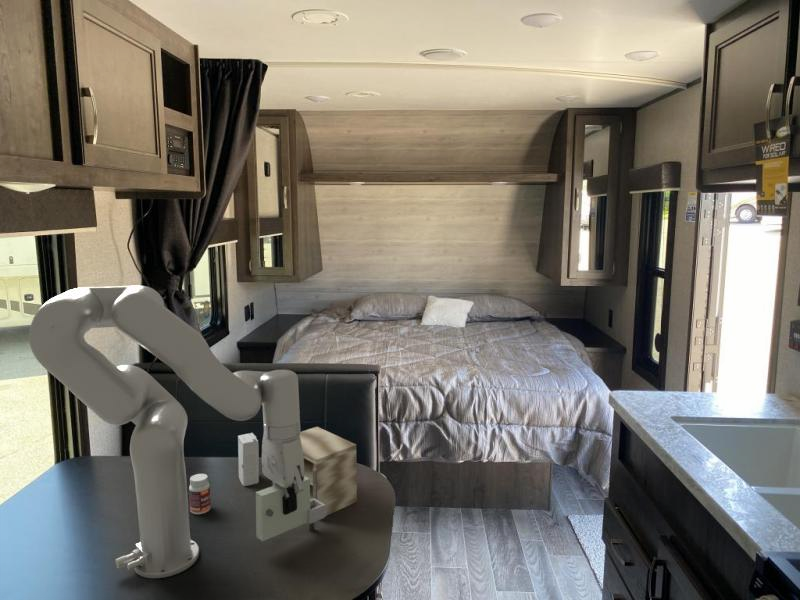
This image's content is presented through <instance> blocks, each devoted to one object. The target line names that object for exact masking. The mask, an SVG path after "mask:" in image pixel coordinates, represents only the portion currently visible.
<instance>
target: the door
mask: <svg viewBox="0 0 800 600" xmlns="http://www.w3.org/2000/svg"><path fill="white" fill-rule="evenodd" d="M302 483H303V487H304V490H303V491H300V492H298V494H297V510H296V511H293V512H291V513H289V514H287V515H285V514H283V499H282V497H284V488H283V487H281V486H280V485H278V484H277V485H274V486H273V485H272V486H268V487H266V488H263V489H261V490H258V491H255V537H256V538H257V539H259V540H260V541H261V542H265V541H267V540H269V539H271V538H274V537H277V536H278V535H281V534H283V533H286V532H288V531H290V530H293V529H296V528H297V527H300V526H302V525H304V524H307V523H308V524H309V523H310V524H311V523H313V522H314V523H316V522H319V521H320V520H323V519H325V518H326V516H325V504H323V503H322V502H320V501H318V500H317V499H315V498H313V499H311V500H310V479H309V478H308V477H306V476H304V480H303V481H302ZM291 487H293V486H292V485H291V486H289V489H290V488H291ZM310 504H313V505H314V508H312V509H310Z"/></svg>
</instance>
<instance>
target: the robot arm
mask: <svg viewBox="0 0 800 600" xmlns="http://www.w3.org/2000/svg"><path fill="white" fill-rule="evenodd" d="M100 328H101V329H103V328H117V329H118V330H119V331H120V332H121V333H122V334H124V335H125V336H126V337H128V338H129V339H130V340H132V341H134V342H135V343H136V344H137V345H139V346H140V347H142V348H143V349H145V350H147V352H149V353H151V354H152V355H153V356H155V357H156V358H157V359H158V360H160V361H161V362H162V363H164V364H165V365H167V366H168V367H169V368H171V369H172V371H174V373H175V374H176V375H177V377H179V379H181V380H182V382H184V383H185V385H186V386H188V388H189V389H190V390H191V391H192V392H193V393H194V394H196V396H198V397H199V398H200V399H201V400H202V401H203V402H205V403H206V404H208V405H209V406H211V407H212V408H213V409H215V410H216V411H217V412H219V413H221V414H222V415H224V416H225V417H226V418H229V419H230V420H231V419H232V420H234V421H239V422H241V421H242V422H244V421H249V420H250V419H252V418H254V417H255V416H256V415H257V414H258V413H259V411H260V409H261V407H262V421H263V435H262V441H261V443H262V444H261V472H262V475H263V476H264V477H265V478H267V479H268V480H270V481H271V483H272V486H274V485H277V484H278V485H280V486H281V487H283V488H284V497H282V499H283V514H285V515H287V514H289V513H291V512H293V511H296V510H297V494H298V492H300V491H303V490H304V487H303V483H302V481H303V480H304V473H305V471H304V458H303V450H302V444H301V439H300V437H299V436H300V432H301V419H300V417H301V416H300V415H301V413H300V395H299V394H300V392H299V378H298V375H297V373H296V372H294V371H292V370H289V369H274V370H270V371H255V370H237V371H234V372H233V371H231V370H230V369H229V368H227V367H226V366H225V365H224V364H223V363H222V362H221V361H220V360H219V359H218V358H217V357H216V356H215V354H214V353H213V352H212V350H211V348H210V346H209V344H208V342H207V341H206V339H205V337H203V335H202V334H201V333H200V332H199V331H198V330H196V329H195V328H193V327H192V326H190V324H188V323H187V322H186V321H184V320H183V319H182V318H180V317H179V316H178V315H176V314H175V313H174V312H172V311H171V310H170V309H168V308H167V307H166V306H165V303H164V299H163V297H162V295H160V293H159V292H158V291H156V290H155V289H154V288H152V287H150V286H145V285H122V286H120V285H119V286H117V285H116V286H87V287H77V288H76V287H75V288H73V289H69V290H66V291H65V292H62V293H60V294H58V295H55V296H54V297H51V298H50V299H49V300H47V301H45V302H44V304H42V305H41V306H40V307H39V309H38V310H37V311H36V313H35V314H34V316H33V317H32V321H31V324H30V328H29V332H28V339H29V341H28V342H29V346H30V349H31V352H32V354H33V356H34V357H35V359H36V361H37V362H38V363H39V364H40V365H41V366H42V368H44V369H45V370H46V371H48V373H49V374H51V376H53V377H54V378H56V379H57V380H58V381H59V382H60V383H61V384H62V385H63V386H65V387H66V388H67V389H68V391H69V392H71V393H72V394H73V395H74V397H76V398H77V399H78V400H80V401H81V402H82V403H83V404H84V405H85V406H86V407H87V408H88V409H89V410H91V411H92V412H93V413H94V414H95V415H96V416H97V417H98V418H99V419H100V420H102V421H103V422H105V423H107V424H109V425H113V426H121V425H126V424H128V423H129V422H132V423H133V424H134V425H135V427H134V429H133V431H132V435H131V436H130V442H129V443H130V444H129V455H130V459H131V464H132V469H133V477H134V483H135V487H134V488H135V496H136V504H137V506H136V507H137V517H138V529H139V531H138V532H139V540H140V541H139V542H138V543H135V549H133V550H131V552H130V553H128V554H125V555H122V556H120V557H118V558H115V560H114V561H115V567H116V568H117V569H119V570H120V568H123V567H126V569H127V570H128V571H131V570H133V569H134V572H135V573H136V574H137V575H139V576H140V577H143V578H147V579H161V578H163V579H164V578H167V577H171V576H175V575H178V574H180V573H182V572H184V571H186V570H187V569H189V568H190V567H192V565H194V564H195V563H196V561H197V560H198V558H199V555H200V547H199V544H198V543H197V542H195V540H192V539H191V532H190V531H191V530H190V514H189V513H190V512H189V511H190V510H189V497H188V485H187V483H188V482H187V473H186V463H185V455H184V454H185V452H184V441H185V440H184V439H185V436H186V430H187V427H188V415H187V412H186V409H185V408H184V406H183V405H182V404H181V403H180V402H179V400H177V399H176V398H175V397H174V396H173V395H172V394H171V393H170V392H169V391H168V390H167V389H166V388H165V387H163V386H162V385H161V384H160V383H159V382H158V381H157V380H156V379H155V378H154V377H153V376H152V375H151V374H150V373H148V372H147V371H146V370H144V369H143V368H141V367H139V366H136V365H131V364H120V365H117V366H116V365H115V364H114V363H112V361H110V359H108V357H106V356H105V354H103V353H102V352H101V350H100V351H99V350H98V349H96V348H95V347H93V346H92V345H90V344H89V343H88V342H87V341H86V340H85V335H86V333H88V332H89V331H90V330H91V329H100ZM291 485H292V486H293V487H291V488H290V489H289V486H291Z"/></svg>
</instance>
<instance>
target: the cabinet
mask: <svg viewBox="0 0 800 600" xmlns="http://www.w3.org/2000/svg"><path fill="white" fill-rule="evenodd" d="M299 437H300V439H301V444H302V450H303V458H304V471H305V473H304V476H306V477H308V478H309V479H310V500H311V499H313V498H315V499H317V500H318V501H320V502H322V503H323V504H325V517H327V516H328V515H331V514H333V513H335V512H338V511H340V510H341V509H344V508H346V507H348V506H350V505H352V504H355V503H357V502H358V494H357V493H358V482H357V481H358V479H357V476H358V475H357V465H358V464H357V443H353V442H352V441H350V440H348V439H345V438H343V437H341V436H339V435H337V434H334V433H332V432H330V431H328V430H325V429H323V428H321V427H319V426H315V427H312V428H308V429H306V430H302V431H300V436H299ZM312 508H314V505H313V504H310V509H312ZM308 531H309V532H311V533H312V532H315V522H313V523H311V524H310V523H308Z"/></svg>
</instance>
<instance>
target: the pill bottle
mask: <svg viewBox="0 0 800 600" xmlns="http://www.w3.org/2000/svg"><path fill="white" fill-rule="evenodd" d="M208 476H209V475H207V474H206V473H197V474H194V475H191V476H190V478H189V483H190V484H189V487H188V494H189V497H188V498H189V511H190V512H191V514H192V515H203V514H205V513H207V512H210V510H211V508H212V504H211V502H212V501H211V486H210V483H209V477H208Z"/></svg>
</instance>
